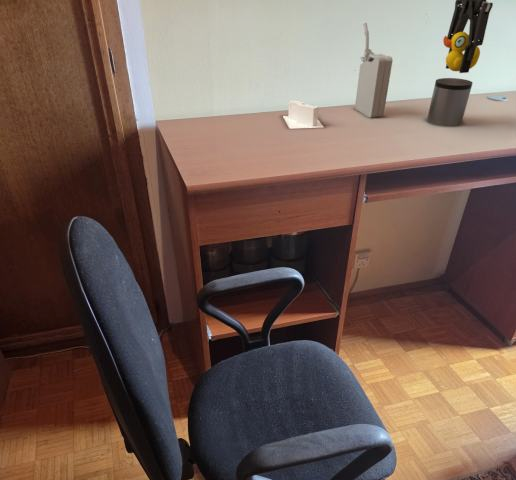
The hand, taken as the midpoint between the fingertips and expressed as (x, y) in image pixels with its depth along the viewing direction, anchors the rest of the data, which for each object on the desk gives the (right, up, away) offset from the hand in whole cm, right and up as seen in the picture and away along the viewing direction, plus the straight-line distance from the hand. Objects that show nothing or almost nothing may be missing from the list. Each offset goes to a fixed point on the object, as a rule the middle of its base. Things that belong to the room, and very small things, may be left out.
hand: (456, 70), depth 139 cm
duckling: (0, 0, 0) cm, 0 cm away
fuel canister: (-23, -3, +19) cm, 30 cm away
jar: (0, -11, +10) cm, 15 cm away
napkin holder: (-47, -11, +10) cm, 49 cm away
